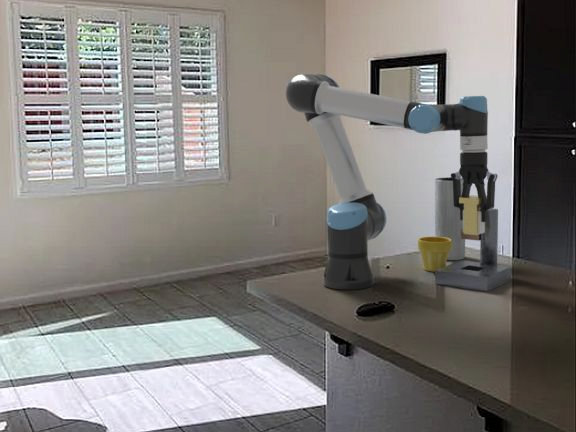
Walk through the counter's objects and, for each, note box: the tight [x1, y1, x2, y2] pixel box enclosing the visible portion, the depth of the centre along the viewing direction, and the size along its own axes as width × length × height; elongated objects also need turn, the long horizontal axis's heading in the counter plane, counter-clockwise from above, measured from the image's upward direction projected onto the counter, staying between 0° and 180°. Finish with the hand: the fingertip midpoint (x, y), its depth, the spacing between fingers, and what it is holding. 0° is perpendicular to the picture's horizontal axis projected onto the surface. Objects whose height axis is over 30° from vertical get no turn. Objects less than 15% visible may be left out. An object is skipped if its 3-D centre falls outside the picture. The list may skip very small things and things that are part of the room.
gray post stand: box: [434, 208, 512, 292], centre depth 198 cm, size 16×21×20 cm
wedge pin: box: [459, 194, 487, 235], centre depth 194 cm, size 6×6×11 cm
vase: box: [434, 176, 466, 261], centre depth 228 cm, size 10×10×27 cm
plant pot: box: [417, 236, 451, 272], centre depth 214 cm, size 10×10×10 cm
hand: (473, 232), depth 194 cm, fingers closed on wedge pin, 4 cm apart
